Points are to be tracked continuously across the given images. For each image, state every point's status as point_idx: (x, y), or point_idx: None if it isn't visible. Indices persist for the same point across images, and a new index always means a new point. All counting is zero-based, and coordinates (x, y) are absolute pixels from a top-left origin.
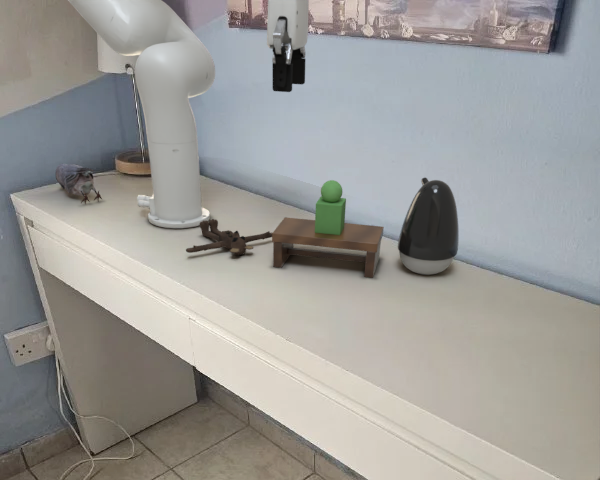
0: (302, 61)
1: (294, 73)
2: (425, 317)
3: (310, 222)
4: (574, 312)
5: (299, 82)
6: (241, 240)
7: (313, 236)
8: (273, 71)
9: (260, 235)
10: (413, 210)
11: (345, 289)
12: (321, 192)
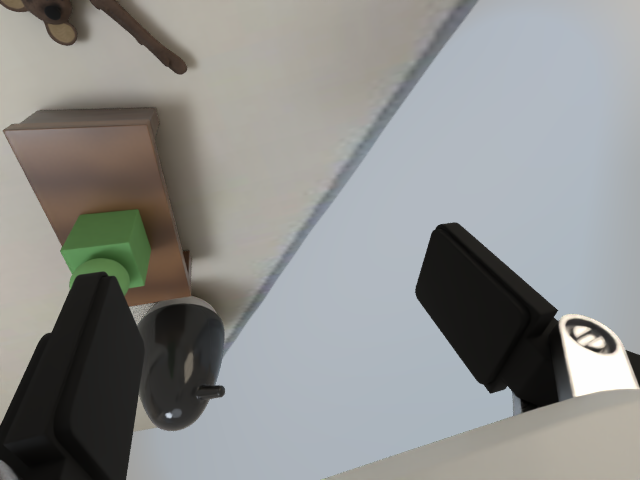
0: (478, 375)
1: (451, 291)
2: (15, 348)
3: (142, 188)
4: (139, 421)
5: (419, 283)
6: (37, 13)
7: (54, 218)
8: (36, 381)
9: (147, 44)
10: (148, 373)
11: (30, 252)
12: (78, 268)
